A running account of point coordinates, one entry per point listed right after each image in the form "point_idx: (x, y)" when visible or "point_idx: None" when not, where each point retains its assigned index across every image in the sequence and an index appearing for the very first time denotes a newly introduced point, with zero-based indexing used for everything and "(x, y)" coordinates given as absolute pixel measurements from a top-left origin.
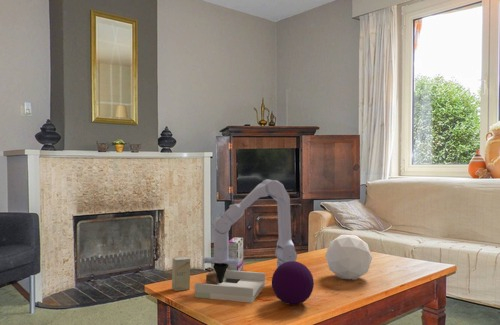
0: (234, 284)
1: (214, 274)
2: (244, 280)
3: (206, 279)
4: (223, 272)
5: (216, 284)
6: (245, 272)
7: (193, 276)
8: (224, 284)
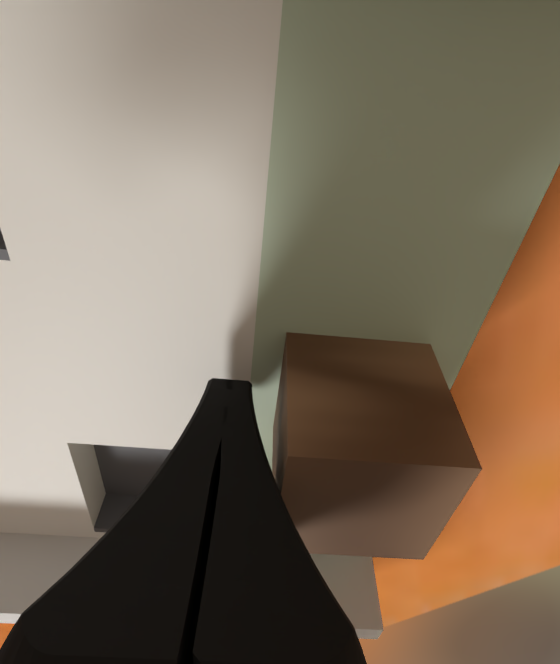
0: (71, 412)
1: (329, 502)
2: (39, 513)
3: (450, 403)
4: (115, 522)
5: (283, 363)
6: (20, 608)
7: (534, 567)
8: (190, 396)
